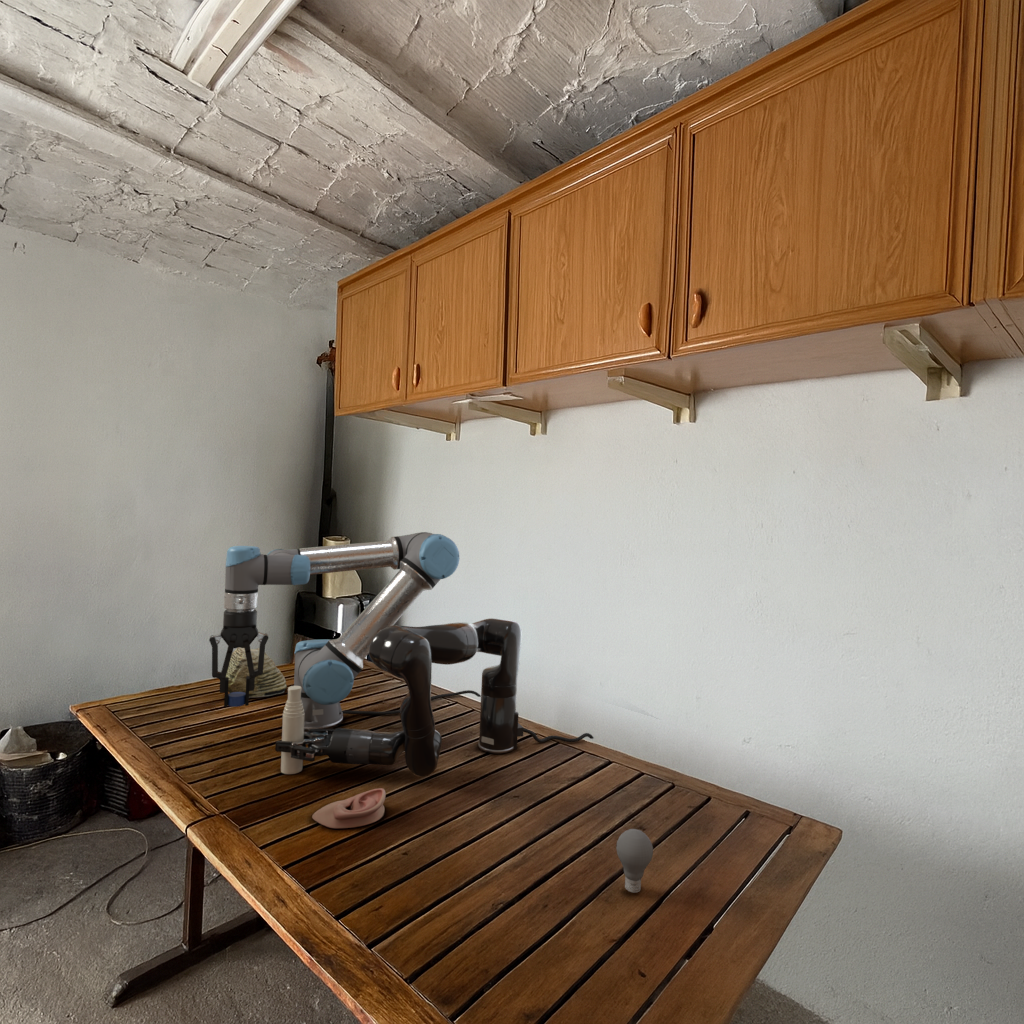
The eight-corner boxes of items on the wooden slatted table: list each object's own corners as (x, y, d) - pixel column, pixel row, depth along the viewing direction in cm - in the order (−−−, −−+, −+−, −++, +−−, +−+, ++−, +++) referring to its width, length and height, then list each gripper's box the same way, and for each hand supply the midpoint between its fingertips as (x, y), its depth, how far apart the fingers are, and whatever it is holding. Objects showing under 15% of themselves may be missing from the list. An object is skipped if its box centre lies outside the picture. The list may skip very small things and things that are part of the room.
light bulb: (610, 879, 108) (613, 822, 108) (644, 879, 109) (647, 822, 109) (619, 902, 102) (622, 840, 102) (655, 901, 103) (658, 840, 103)
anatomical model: (304, 803, 122) (333, 778, 133) (303, 824, 122) (332, 797, 133) (368, 813, 119) (392, 787, 131) (368, 834, 119) (391, 806, 131)
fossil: (218, 695, 195) (220, 647, 195) (278, 685, 208) (279, 640, 207) (228, 703, 189) (230, 653, 188) (289, 692, 201) (290, 645, 201)
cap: (233, 700, 157) (234, 691, 157) (248, 702, 157) (249, 692, 156) (223, 705, 153) (224, 695, 153) (238, 707, 153) (239, 697, 152)
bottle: (306, 770, 146) (309, 688, 146) (286, 776, 143) (289, 691, 142) (296, 763, 149) (299, 683, 149) (276, 769, 146) (279, 686, 146)
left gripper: (200, 612, 148) (196, 712, 148) (278, 611, 154) (274, 706, 155) (202, 607, 155) (198, 702, 155) (277, 606, 161) (273, 697, 162)
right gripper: (363, 719, 152) (294, 715, 153) (344, 742, 138) (267, 736, 139) (362, 750, 152) (292, 745, 153) (342, 776, 138) (266, 770, 139)
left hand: (236, 704), depth 155 cm, fingers closed on cap, 4 cm apart
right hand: (281, 741), depth 146 cm, fingers closed on bottle, 5 cm apart
